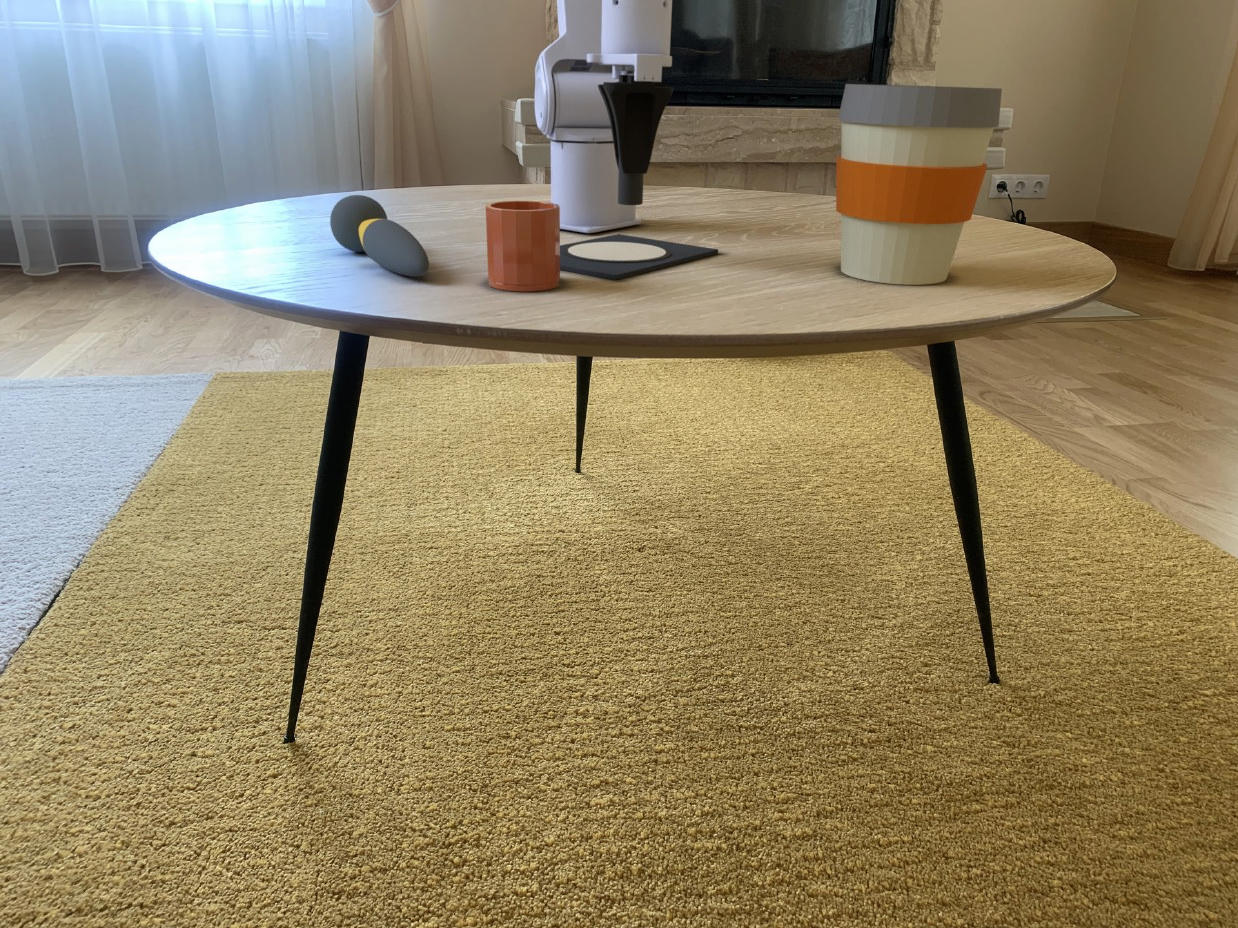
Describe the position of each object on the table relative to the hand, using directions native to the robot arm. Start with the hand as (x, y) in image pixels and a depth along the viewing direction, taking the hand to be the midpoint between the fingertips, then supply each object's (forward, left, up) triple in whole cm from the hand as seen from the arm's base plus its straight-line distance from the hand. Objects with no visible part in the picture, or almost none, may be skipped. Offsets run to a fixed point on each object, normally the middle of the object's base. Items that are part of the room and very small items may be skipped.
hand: (632, 171), depth 76 cm
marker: (0, 0, -3) cm, 3 cm away
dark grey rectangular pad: (0, -1, -8) cm, 8 cm away
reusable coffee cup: (-11, +21, -8) cm, 25 cm away
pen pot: (+14, 0, -8) cm, 16 cm away
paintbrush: (+16, -14, -8) cm, 23 cm away
